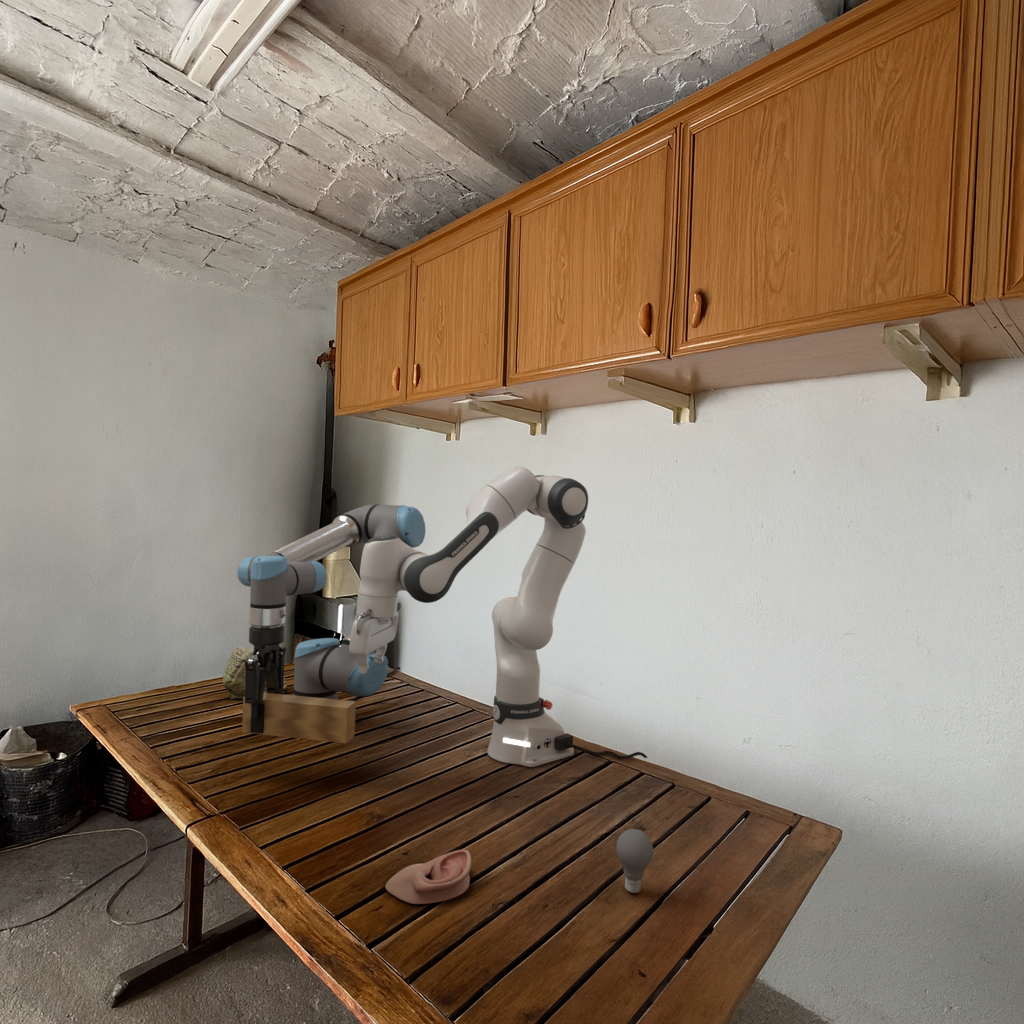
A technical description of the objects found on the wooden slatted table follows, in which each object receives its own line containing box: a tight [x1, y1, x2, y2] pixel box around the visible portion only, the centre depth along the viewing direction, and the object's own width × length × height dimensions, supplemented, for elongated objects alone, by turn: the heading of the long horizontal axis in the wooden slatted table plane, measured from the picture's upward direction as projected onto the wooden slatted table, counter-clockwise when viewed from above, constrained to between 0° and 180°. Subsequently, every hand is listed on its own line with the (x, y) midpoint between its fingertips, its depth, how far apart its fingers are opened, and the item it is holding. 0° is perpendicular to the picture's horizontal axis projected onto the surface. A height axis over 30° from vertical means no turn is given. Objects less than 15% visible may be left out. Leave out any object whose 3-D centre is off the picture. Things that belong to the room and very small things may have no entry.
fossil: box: [222, 646, 288, 699], centre depth 198 cm, size 9×18×15 cm, turn 132°
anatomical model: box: [385, 849, 472, 905], centre depth 105 cm, size 13×4×12 cm
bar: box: [241, 693, 357, 744], centre depth 141 cm, size 24×5×8 cm, turn 81°
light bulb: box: [615, 828, 654, 894], centre depth 106 cm, size 6×6×10 cm
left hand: (263, 727), depth 143 cm, fingers closed on bar, 5 cm apart
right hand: (371, 667), depth 143 cm, fingers open, 8 cm apart
